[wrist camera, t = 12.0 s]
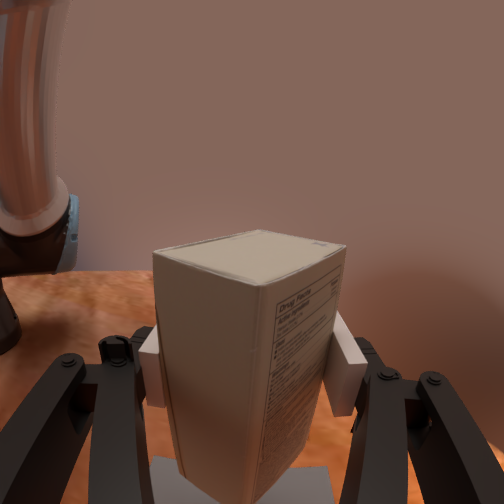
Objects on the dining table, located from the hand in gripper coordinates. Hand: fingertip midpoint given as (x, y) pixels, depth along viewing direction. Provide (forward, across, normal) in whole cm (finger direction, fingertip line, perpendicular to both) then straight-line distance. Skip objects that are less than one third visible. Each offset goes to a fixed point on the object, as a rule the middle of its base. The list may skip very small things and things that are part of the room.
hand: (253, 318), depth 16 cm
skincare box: (-5, 0, -7) cm, 9 cm away
